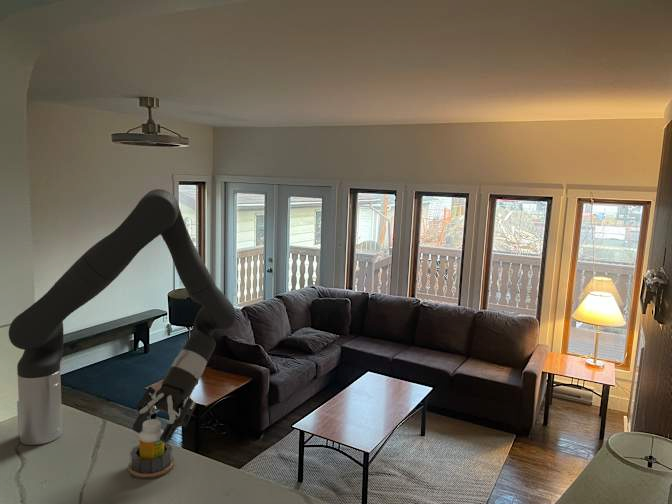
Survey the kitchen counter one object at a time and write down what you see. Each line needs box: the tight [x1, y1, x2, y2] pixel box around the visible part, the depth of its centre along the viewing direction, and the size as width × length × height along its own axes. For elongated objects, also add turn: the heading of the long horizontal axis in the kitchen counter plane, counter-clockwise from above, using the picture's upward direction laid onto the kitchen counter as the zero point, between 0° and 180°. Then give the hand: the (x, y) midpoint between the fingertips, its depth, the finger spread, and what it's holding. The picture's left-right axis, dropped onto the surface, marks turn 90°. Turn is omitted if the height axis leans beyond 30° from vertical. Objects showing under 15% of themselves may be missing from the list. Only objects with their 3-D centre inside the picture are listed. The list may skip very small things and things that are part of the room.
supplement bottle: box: [139, 418, 164, 458], centre depth 116 cm, size 5×5×10 cm
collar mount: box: [127, 442, 175, 480], centre depth 117 cm, size 10×10×4 cm
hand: (149, 436), depth 115 cm, fingers open, 8 cm apart
